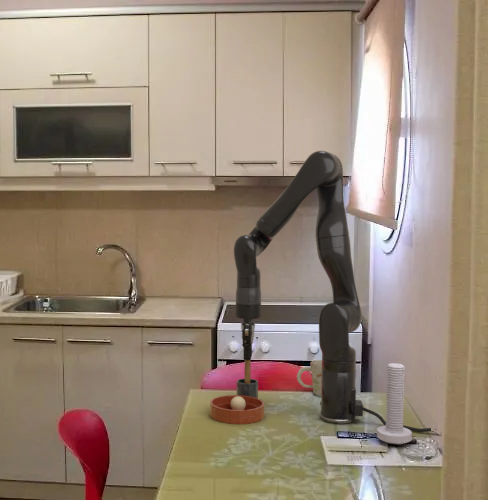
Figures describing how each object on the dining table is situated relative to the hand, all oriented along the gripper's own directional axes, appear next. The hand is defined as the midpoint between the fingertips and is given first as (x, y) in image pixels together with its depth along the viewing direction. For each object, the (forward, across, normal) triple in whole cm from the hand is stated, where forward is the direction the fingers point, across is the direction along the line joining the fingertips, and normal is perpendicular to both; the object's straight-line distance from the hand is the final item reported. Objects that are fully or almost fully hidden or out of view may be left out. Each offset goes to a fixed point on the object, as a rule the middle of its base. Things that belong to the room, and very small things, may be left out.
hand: (247, 358), depth 207 cm
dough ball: (+13, +10, -2) cm, 17 cm away
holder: (+14, 0, 0) cm, 14 cm away
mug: (+14, -15, +21) cm, 29 cm away
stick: (+13, 0, 0) cm, 13 cm away
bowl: (+14, +13, -2) cm, 19 cm away
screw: (+14, +27, +39) cm, 50 cm away
